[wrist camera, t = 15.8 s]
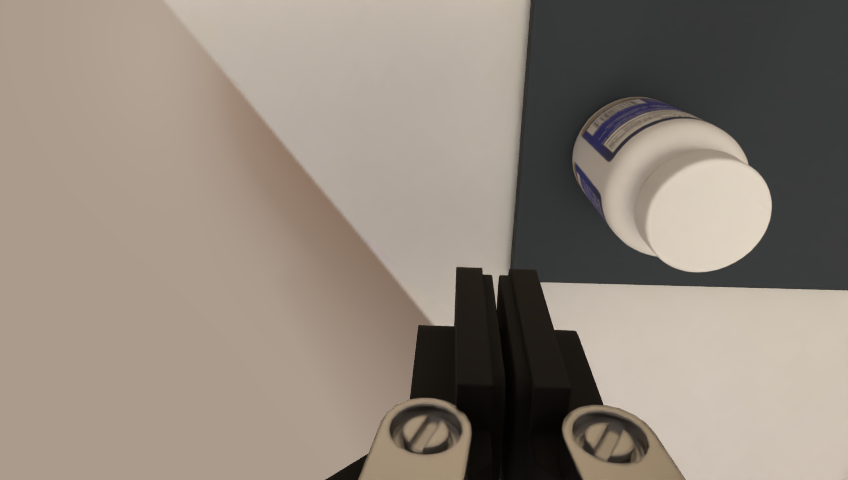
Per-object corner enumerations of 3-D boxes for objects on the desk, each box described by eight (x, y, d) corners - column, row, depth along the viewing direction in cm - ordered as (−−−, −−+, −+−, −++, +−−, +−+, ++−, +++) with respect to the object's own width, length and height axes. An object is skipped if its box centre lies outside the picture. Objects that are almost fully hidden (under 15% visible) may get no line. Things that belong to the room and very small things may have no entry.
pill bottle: (669, 209, 27) (763, 299, 19) (562, 200, 27) (610, 285, 19) (699, 99, 25) (818, 146, 17) (582, 89, 25) (646, 131, 17)
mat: (509, 273, 30) (511, 281, 29) (532, -13, 25) (534, -14, 24) (853, 282, 29) (867, 291, 29) (955, -10, 24) (976, -10, 23)
